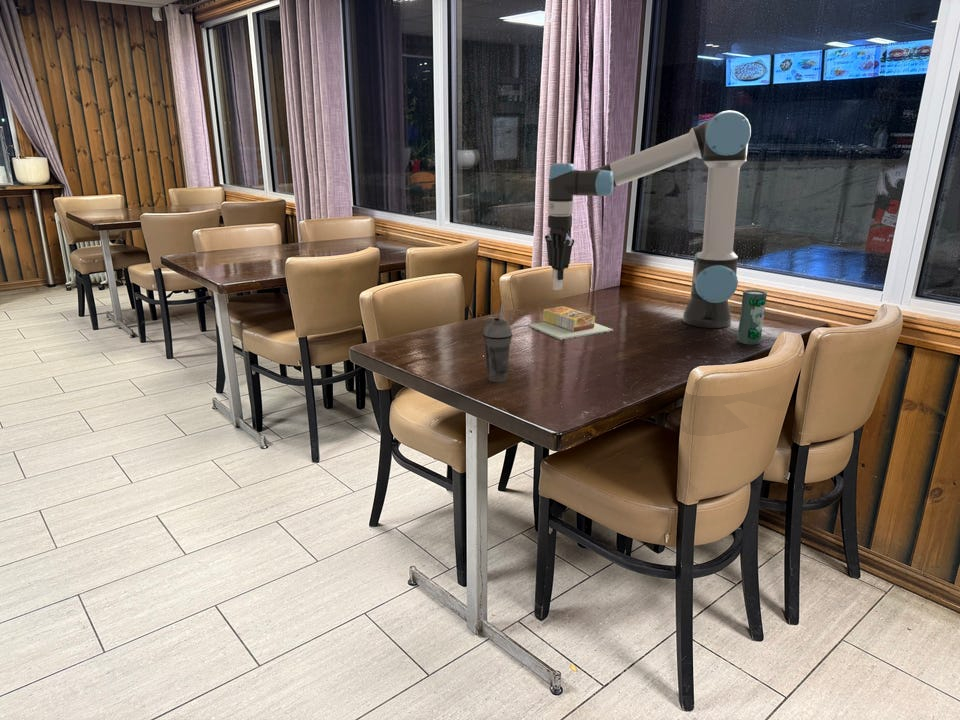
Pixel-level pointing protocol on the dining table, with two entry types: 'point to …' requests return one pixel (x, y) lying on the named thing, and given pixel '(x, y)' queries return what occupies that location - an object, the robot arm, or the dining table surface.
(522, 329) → the dining table surface
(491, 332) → the beverage cup
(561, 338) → the mat
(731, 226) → the robot arm
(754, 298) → the can
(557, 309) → the candy box
